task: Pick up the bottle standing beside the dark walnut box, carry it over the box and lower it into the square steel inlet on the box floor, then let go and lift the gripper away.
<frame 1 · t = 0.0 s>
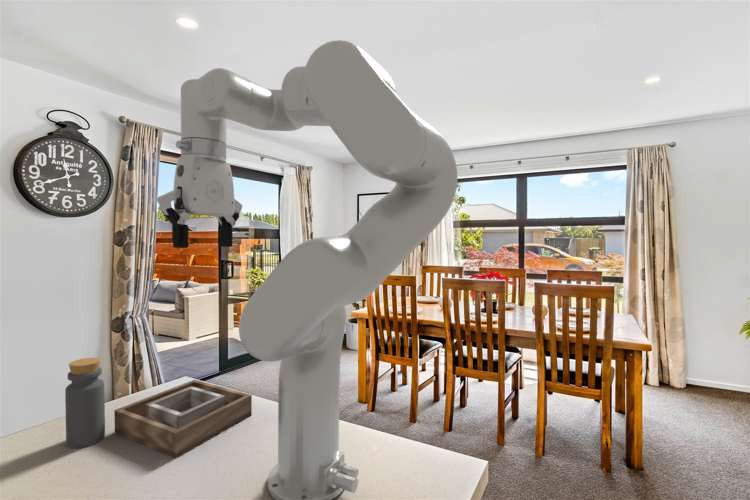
hand: (204, 247, 71), 37 cm above the kitchen counter, tool pointing down, fingers open, 9 cm apart
walled box: (186, 423, 79), on the kitchen counter
bottle: (86, 441, 73), on the kitchen counter
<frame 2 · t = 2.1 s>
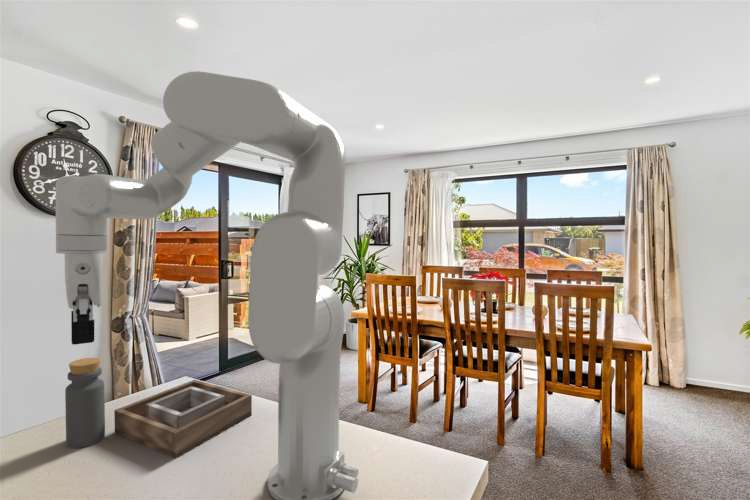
hand: (82, 336, 72), 20 cm above the kitchen counter, tool pointing down, fingers open, 9 cm apart
nothing on the kitchen counter moved.
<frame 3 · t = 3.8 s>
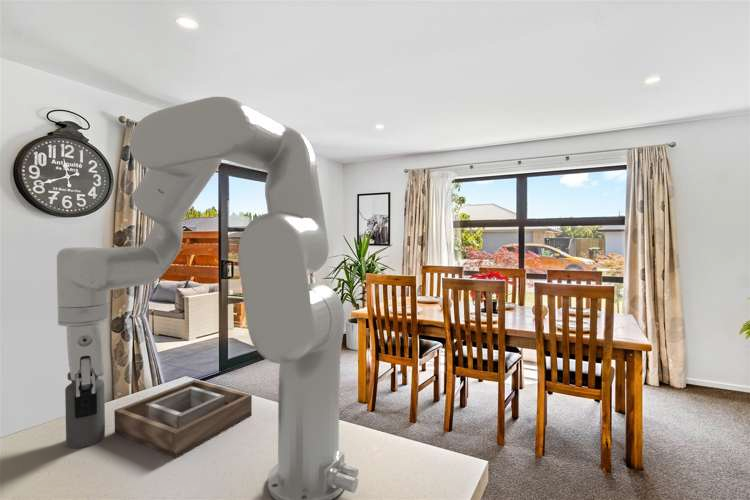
hand: (85, 408, 72), 6 cm above the kitchen counter, tool pointing down, fingers closed on bottle, 5 cm apart
bottle: (86, 440, 73), on the kitchen counter, touching gripper
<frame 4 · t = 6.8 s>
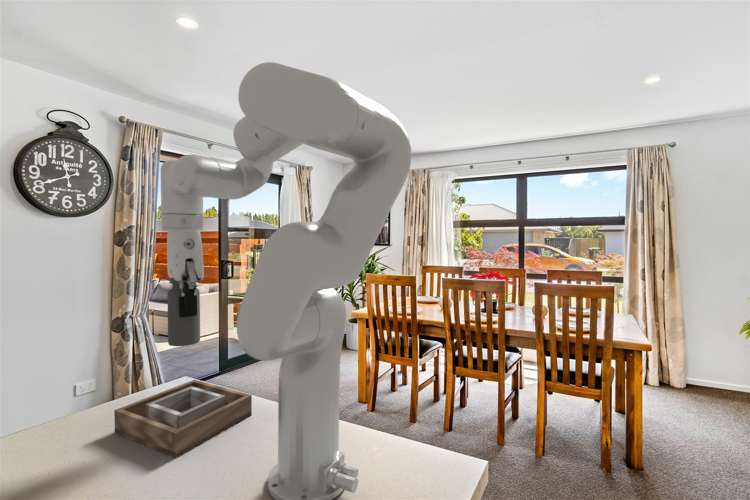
hand: (184, 312, 78), 23 cm above the kitchen counter, tool pointing down, fingers closed on bottle, 5 cm apart
bottle: (184, 343, 78), point 17 cm above the kitchen counter, touching gripper
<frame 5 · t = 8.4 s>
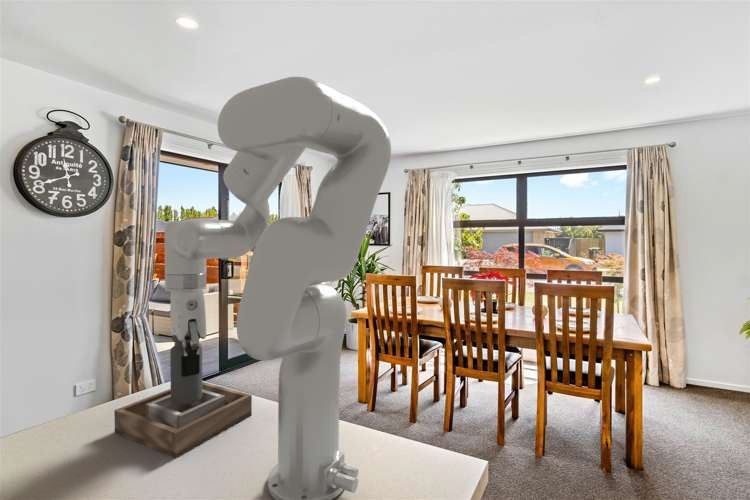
hand: (186, 369, 79), 11 cm above the kitchen counter, tool pointing down, fingers closed on bottle, 5 cm apart
bottle: (186, 399, 79), point 5 cm above the kitchen counter, touching gripper
when the fingers open (8 cm above the kitchen counter, at t = 9.6 s): bottle stays where it is, resting on walled box.
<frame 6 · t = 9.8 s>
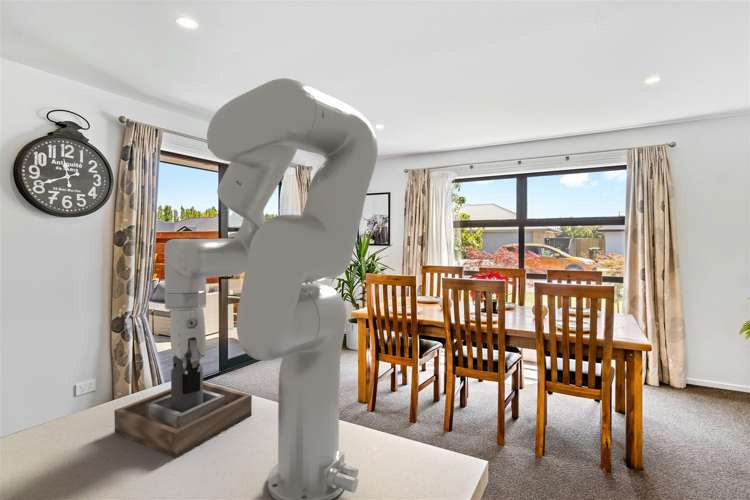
hand: (186, 385, 79), 8 cm above the kitchen counter, tool pointing down, fingers open, 7 cm apart
bottle: (187, 420, 79), point 1 cm above the kitchen counter, touching walled box
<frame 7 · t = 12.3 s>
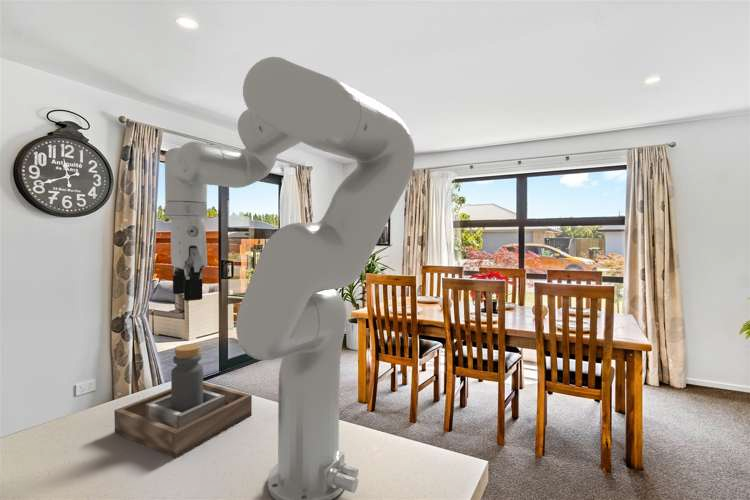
hand: (187, 296, 78), 26 cm above the kitchen counter, tool pointing down, fingers open, 9 cm apart
nothing on the kitchen counter moved.
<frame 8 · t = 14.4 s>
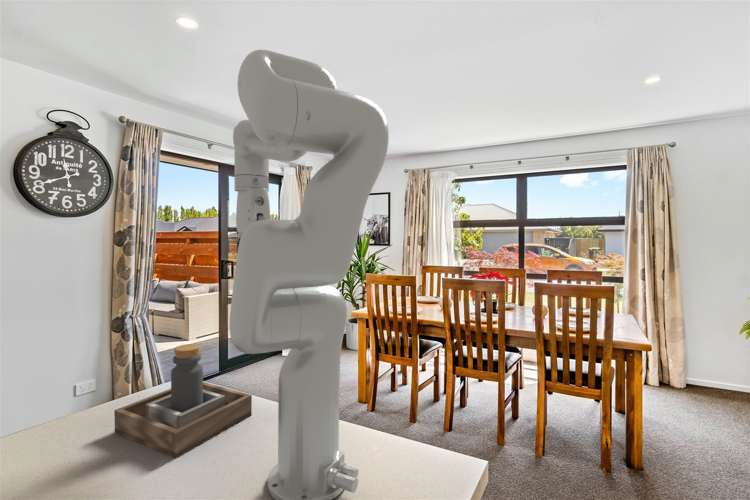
hand: (251, 259, 90), 33 cm above the kitchen counter, tool pointing down, fingers open, 9 cm apart
nothing on the kitchen counter moved.
at the end: bottle 0.3 cm off-centre on the walled box, point 0.8 cm above the walled box's base; bottle tilted 0°; the gripper is holding nothing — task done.
